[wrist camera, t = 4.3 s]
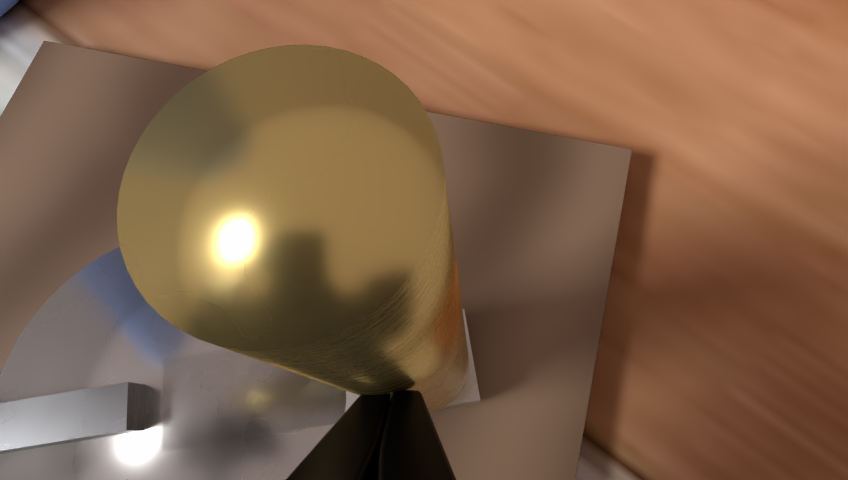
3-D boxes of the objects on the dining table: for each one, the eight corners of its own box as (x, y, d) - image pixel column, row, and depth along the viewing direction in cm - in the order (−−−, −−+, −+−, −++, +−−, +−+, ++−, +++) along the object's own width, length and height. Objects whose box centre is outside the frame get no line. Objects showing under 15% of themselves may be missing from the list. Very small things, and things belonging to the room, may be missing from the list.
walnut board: (624, 164, 18) (661, 94, 15) (466, 1066, 12) (459, 1356, 8) (62, 57, 22) (-23, -20, 19) (-294, 696, 16) (-537, 777, 12)
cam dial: (-107, 652, 14) (-2195, 1418, 3) (-50, 284, 18) (-954, 22, 7) (508, 559, 14) (636, 1094, 3) (443, 197, 17) (377, -253, 6)
